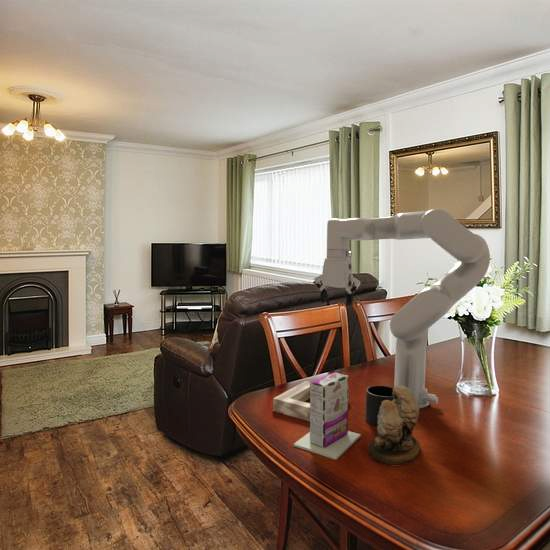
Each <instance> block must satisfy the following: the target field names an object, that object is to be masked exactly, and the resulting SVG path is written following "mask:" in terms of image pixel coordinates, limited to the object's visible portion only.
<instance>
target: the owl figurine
mask: <svg viewBox="0 0 550 550" xmlns="http://www.w3.org/2000/svg"><path fill="white" fill-rule="evenodd" d="M393 388H394V389H393V392H392V395H393V401H389V400H384V401H382V402H381V403H382V404H381V406H380V410H379V414H378V416H377V417H378V422H377V424H378V426H376V427H377V428H376V431H377V436H376V437H375V438H373V439H372V440H371V441H370V442H369V445H368V454H369V456H370V457H371V458H372V459H373V461H375V462H378V463H379V462H380V464H381V463H382V465H385V464H386V465H385V466H390V465H401V466H404V465H403V464H405V465H407V464H406V463H408V464H410V463H412V462H414V461H415V460H416V459H417V458H418V456H419V454H420V452H421V451H420V450H421V445H420V442H419V441H418V439H417V438H415V436H414V435H413V431H415V427H416V426H417V423H418V419H419V415H420V408H419V405H418V404H417V402H416V401H415V397H414V395H413V393H412V392H411V390H410V389H408V388H407V387H405V386H402V385H397V386H395V387H394V386H393ZM416 457H417V458H416ZM415 458H416V459H415ZM414 459H415V460H414ZM411 461H412V462H411ZM409 462H410V463H409Z"/></svg>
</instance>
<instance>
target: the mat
mask: <svg viewBox="0 0 550 550" xmlns="http://www.w3.org/2000/svg"><path fill="white" fill-rule="evenodd" d="M360 438H361V433H356V432H353V431H350V430H348V434H347V435H345V436H343V437H342V438H340V439H338V440H337V441H335V442H334V443H332V444H330V445H329V446H327V447H325V448H322V447H320V446H317V445H315V444H312V443H310V431H309V432H307V433H306V434H304V435H303V436H302V437H301V438H299V439H298V440H297V441H296V442H294V443H293V447H296V448H299V449H302V450H305V451H308V452H311V453H314V454H317V455H320V456H323V457H326V458H328V459H332V460H338V458H340V457H341V456H342V455H343V454H344V453H345V452H346V451H347V450H348V449H349V448H351V446H352V445H353V444H354V443H355V442H357V441H358V440H359V439H360Z"/></svg>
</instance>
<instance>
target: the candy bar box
mask: <svg viewBox="0 0 550 550" xmlns="http://www.w3.org/2000/svg"><path fill="white" fill-rule="evenodd" d="M309 382H310V398H309V403H310V421H309V432H310V443H312V444H315V445H317V446H320V447H322V448H325V447H327V446H329V445H330V444H332V443H334V442H335V441H337V440H338V439H340V438H342V437H343V436H345V435H347V434H348V431H349V397H348V390H349V375H346V374H343V373H340V372H332V373H329V374H327V375H324V376H322V377H319V378H316V379H315V380H312V381H309Z"/></svg>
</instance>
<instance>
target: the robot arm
mask: <svg viewBox="0 0 550 550" xmlns="http://www.w3.org/2000/svg"><path fill="white" fill-rule="evenodd" d="M326 226H327V228H326V258H324V262H323V266H322V274H320V275H318V276H316V277H315V278H314V279H313V280H314V282H315V284H316V287H317V288H318V290H319V291H320V301H321V303H327V302H328V291H327V289H328V288H338V289H340V288H341V289H345V291H346V292H347V293H346V296H345V297H346V299H345V302H346V303H345V305H346V306H351V305H352V304H353V302H354V293H355V292H356V291H357V290H358V289H359V286H360V285H361V284H362V281H360V280H359V279H358V278H356V277H354V276H353V263H352V259H351V258H350V257H351V256H352V255H353V252H352V251H350V249H349V244H350V243H349V241H357V242H358V241H372V240H373V241H374V240H375V241H376V240H398V241H399V240H416V239H418V240H419V239H431V240H432V241H433V242H434V243H435V244H436V245H437V246H439V247H440V248H441V249H443V250H444V251H445V252H446V253H448V254H449V255H450V256H451V257H453V258H454V259H455V260H456V261H457V263H456V264H455V265H454V266H453V267H452V268H451V269H450V270H448V271H447V272H446V273H445V274H444V275H442V276H441V277H440V278H439V279H438V280H437V281H436V282H434V283H432V284H431V285H429V286H427V287H425V288H423V289H422V290H421V291H419V292H418V293H417V294H416V295H415V296H414V297H412V298H411V299H410V300H409V301H408V302H407V303H405V304H404V305H403V306H402V307H401V308H400V309H398V311H396V312H395V313H394V314H393V315H392V317H391V318H390V322H389V330H390V333H391V334H392V336H393V337H394V338H396V340H395V358H394V362H395V363H394V381H393V382H394V383H393V385H394V386H393V388H394V387H395V386H397V385H402V386H405V387H407V388H408V389H410V390H411V392H412V393H413V395H414V397H415V401H416V402H417V404H418V405H419V409H425V408H427V407H428V406H429V405H430V403H432V404H438V403H439V397H437V395H436V394H432V393H429V392H428V388H426V387H425V385H426V364H427V348H428V347H427V346H428V335H429V328H430V327H432V326H433V325H434V324H436V323H437V322H438V321H439V320H440V319H442V318H443V317H444V316H445V315H446V314H448V312H449V311H450V310H452V308H453V307H454V305H456V303H458V302H459V301H460V300H461V299H462V298H464V297H465V296H466V295H468V293H470V291H472V290H473V289H474V288H475V287H477V285H478V284H480V282H481V281H482V280H483V279H484V277H485V276H486V274H487V272H488V270H489V267H490V262H491V254H490V248H489V246H488V244H487V243H488V242H487V241H486V240H485V238H484V237H482V235H480V234H478V233H473V232H472V231H471V230H470V229H468V228H467V227H466V226H464V225H463V224H462V223H460V222H459V221H458V220H456V219H455V218H454V216H453V214H452V213H451V212H450V211H448V210H446V209H443V208H433V209H430V210H425V211H424V210H423V211H412V212H411V211H409V212H400V213H397V214H396V213H395V214H394V215H391V216H386V217H384V216H383V217H377V218H376V217H375V218H365V217H364V218H363V217H354V218H353V217H351V218H331V219H330V218H329V220H327V225H326ZM353 284H354V285H353Z"/></svg>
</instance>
